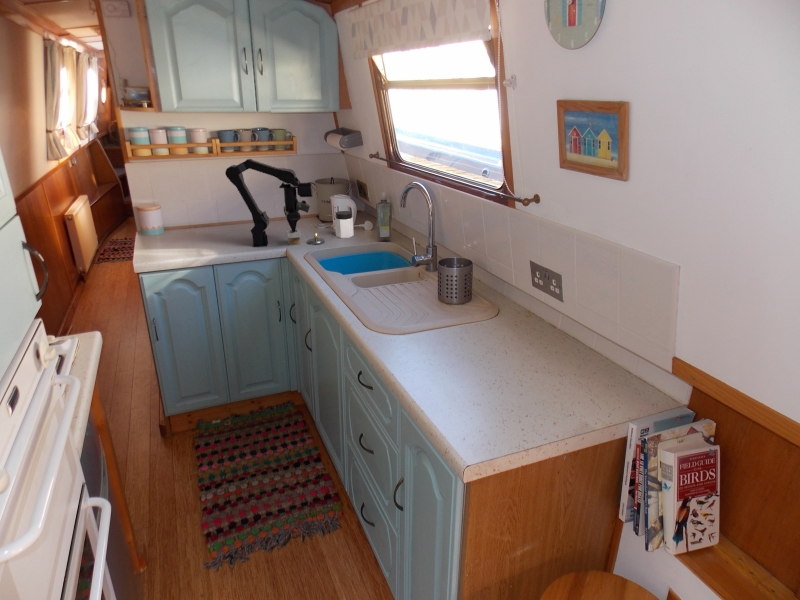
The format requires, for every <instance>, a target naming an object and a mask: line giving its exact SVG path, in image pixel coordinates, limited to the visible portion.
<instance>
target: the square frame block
mask: <svg viewBox="0 0 800 600" xmlns="http://www.w3.org/2000/svg"><path fill="white" fill-rule="evenodd" d="M285 237H286V238H287V239H288V238H298V237H300V238H302V231H301V229H300V228H296V230H295V232H293V231H292V229H286V230H285Z"/></svg>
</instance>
